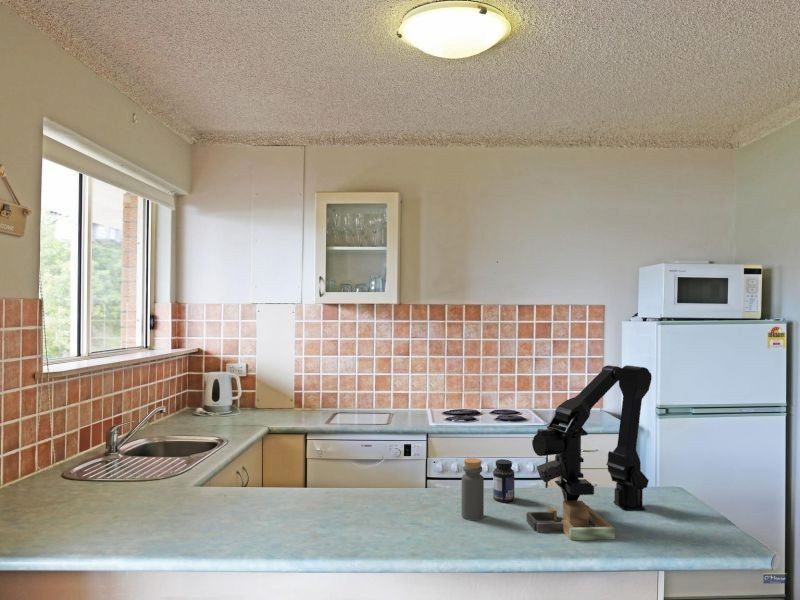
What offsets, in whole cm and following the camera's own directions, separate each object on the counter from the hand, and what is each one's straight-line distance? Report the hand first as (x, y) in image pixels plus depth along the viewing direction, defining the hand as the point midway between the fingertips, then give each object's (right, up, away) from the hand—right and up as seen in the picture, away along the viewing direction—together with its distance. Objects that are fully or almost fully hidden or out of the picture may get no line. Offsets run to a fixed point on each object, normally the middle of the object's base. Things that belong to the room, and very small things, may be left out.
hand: (569, 510), depth 152 cm
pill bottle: (-15, -2, +14) cm, 20 cm away
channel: (-3, -1, -7) cm, 8 cm away
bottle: (-26, -2, 0) cm, 26 cm away
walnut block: (0, -2, -4) cm, 5 cm away
